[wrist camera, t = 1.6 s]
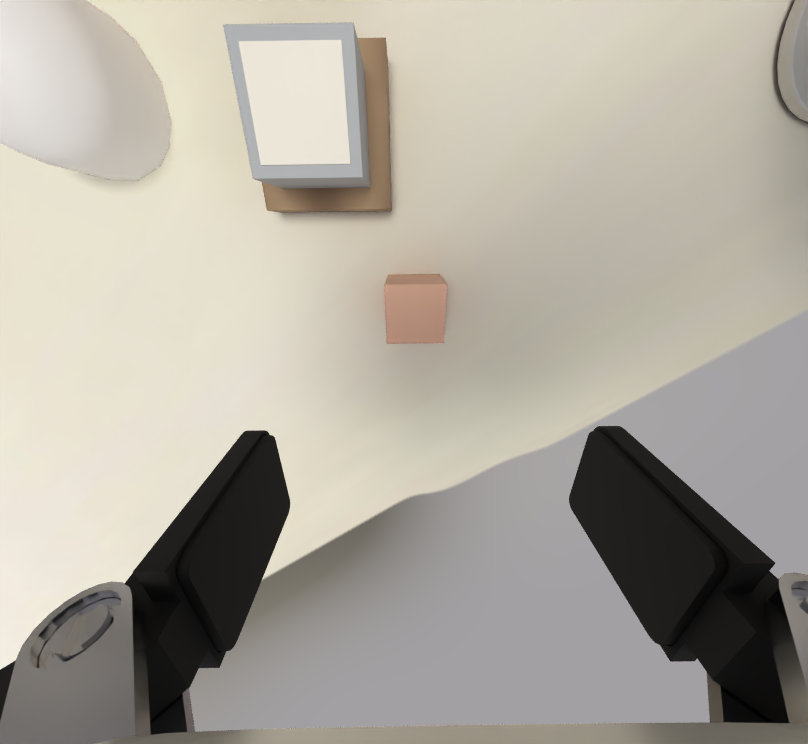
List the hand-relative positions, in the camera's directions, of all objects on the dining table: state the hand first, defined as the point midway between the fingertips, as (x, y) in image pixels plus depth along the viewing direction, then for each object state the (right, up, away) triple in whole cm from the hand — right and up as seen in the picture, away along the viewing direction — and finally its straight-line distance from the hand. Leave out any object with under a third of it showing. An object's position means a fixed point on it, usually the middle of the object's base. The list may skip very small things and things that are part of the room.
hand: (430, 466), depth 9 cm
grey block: (-7, +21, +13) cm, 25 cm away
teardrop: (-25, +24, +15) cm, 38 cm away
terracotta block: (0, +10, +21) cm, 24 cm away
